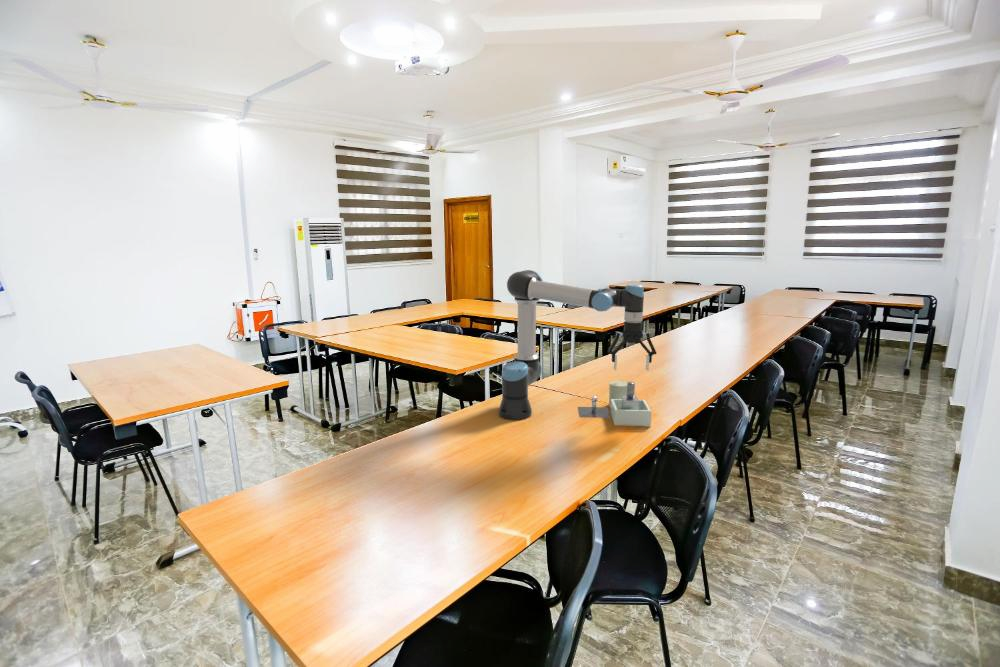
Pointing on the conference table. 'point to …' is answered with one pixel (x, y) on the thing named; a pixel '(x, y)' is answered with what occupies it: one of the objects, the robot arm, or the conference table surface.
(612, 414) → the bin
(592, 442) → the conference table surface
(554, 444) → the conference table surface
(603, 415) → the stud plate
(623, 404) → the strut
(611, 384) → the can
